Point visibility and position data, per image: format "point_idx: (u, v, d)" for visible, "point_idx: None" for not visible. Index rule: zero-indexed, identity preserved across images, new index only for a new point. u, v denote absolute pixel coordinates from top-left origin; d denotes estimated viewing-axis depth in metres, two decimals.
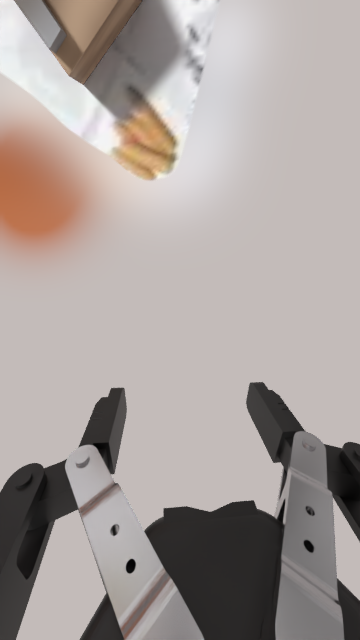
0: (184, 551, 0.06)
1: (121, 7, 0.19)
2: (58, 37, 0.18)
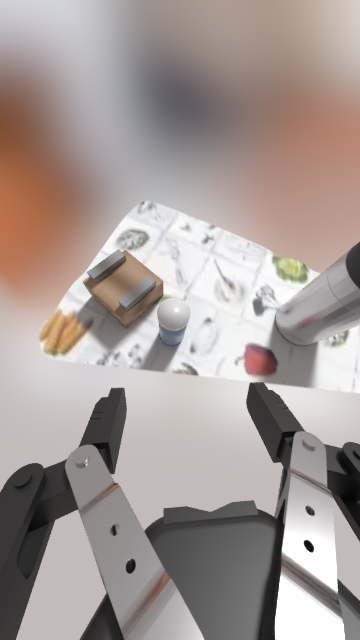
0: (184, 551, 0.06)
1: (112, 311, 0.35)
2: (92, 277, 0.34)
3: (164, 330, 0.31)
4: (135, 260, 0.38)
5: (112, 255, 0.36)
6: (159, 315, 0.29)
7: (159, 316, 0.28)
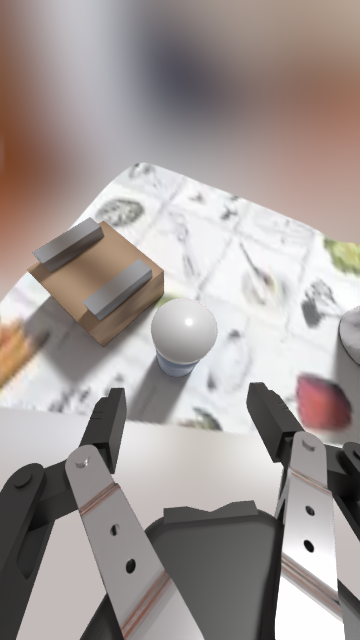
0: (184, 551, 0.06)
1: None
2: (40, 261, 0.20)
3: (165, 360, 0.16)
4: (119, 237, 0.23)
5: (79, 226, 0.22)
6: (155, 334, 0.14)
7: (155, 336, 0.14)
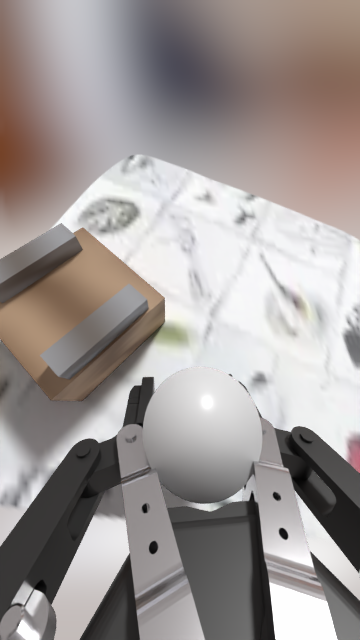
0: (184, 551, 0.06)
1: None
2: None
3: None
4: (103, 250, 0.17)
5: (45, 236, 0.15)
6: (150, 443, 0.08)
7: (150, 448, 0.07)
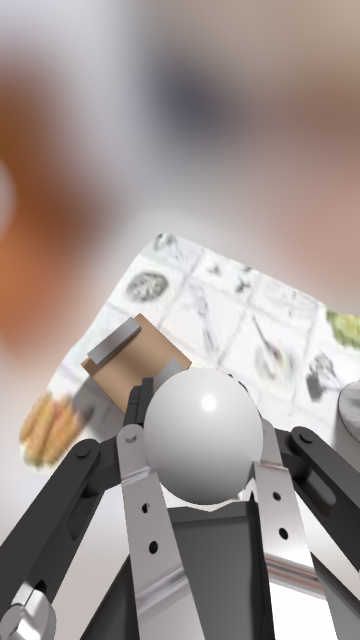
0: (184, 551, 0.06)
1: None
2: (94, 361, 0.24)
3: None
4: (153, 329, 0.28)
5: (123, 326, 0.26)
6: (151, 445, 0.08)
7: (150, 450, 0.07)
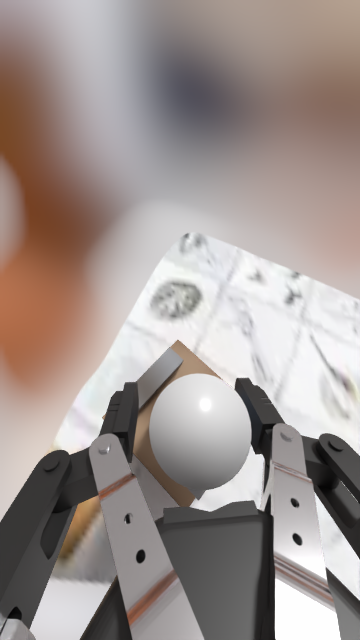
0: (184, 551, 0.06)
1: None
2: None
3: None
4: (198, 362, 0.20)
5: (159, 361, 0.19)
6: (155, 440, 0.09)
7: (155, 444, 0.09)
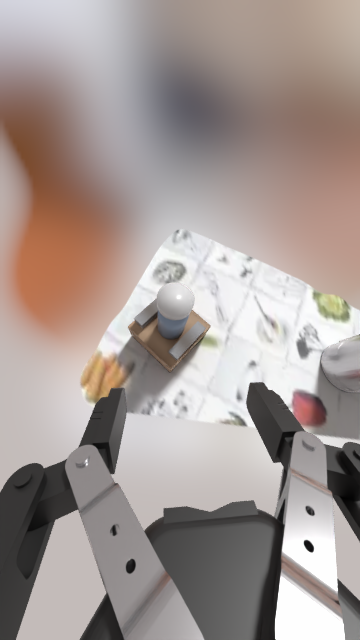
0: (184, 551, 0.06)
1: (158, 358, 0.34)
2: (139, 323, 0.33)
3: (163, 319, 0.27)
4: None
5: None
6: (159, 301, 0.25)
7: (159, 302, 0.25)
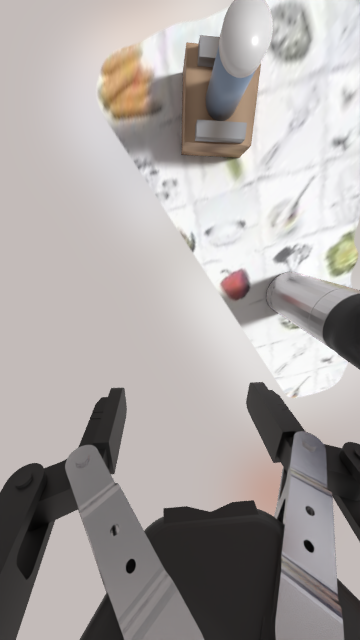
0: (184, 551, 0.06)
1: (183, 123, 0.30)
2: (199, 51, 0.25)
3: (217, 56, 0.21)
4: (256, 82, 0.28)
5: None
6: (231, 10, 0.18)
7: (229, 11, 0.18)
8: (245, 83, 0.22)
